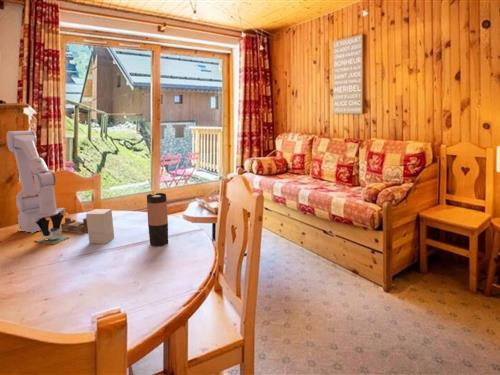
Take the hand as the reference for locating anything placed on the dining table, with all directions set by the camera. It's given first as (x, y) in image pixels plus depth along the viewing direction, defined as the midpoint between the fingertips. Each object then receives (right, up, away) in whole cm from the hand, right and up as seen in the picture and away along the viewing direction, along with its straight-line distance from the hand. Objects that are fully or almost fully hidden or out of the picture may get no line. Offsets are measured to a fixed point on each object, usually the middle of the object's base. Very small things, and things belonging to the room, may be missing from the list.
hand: (51, 233), depth 142 cm
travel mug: (+45, -4, -3) cm, 45 cm away
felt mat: (0, -3, +1) cm, 3 cm away
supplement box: (+21, -3, 0) cm, 21 cm away
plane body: (+5, 0, +12) cm, 13 cm away
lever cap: (0, -1, 0) cm, 1 cm away
